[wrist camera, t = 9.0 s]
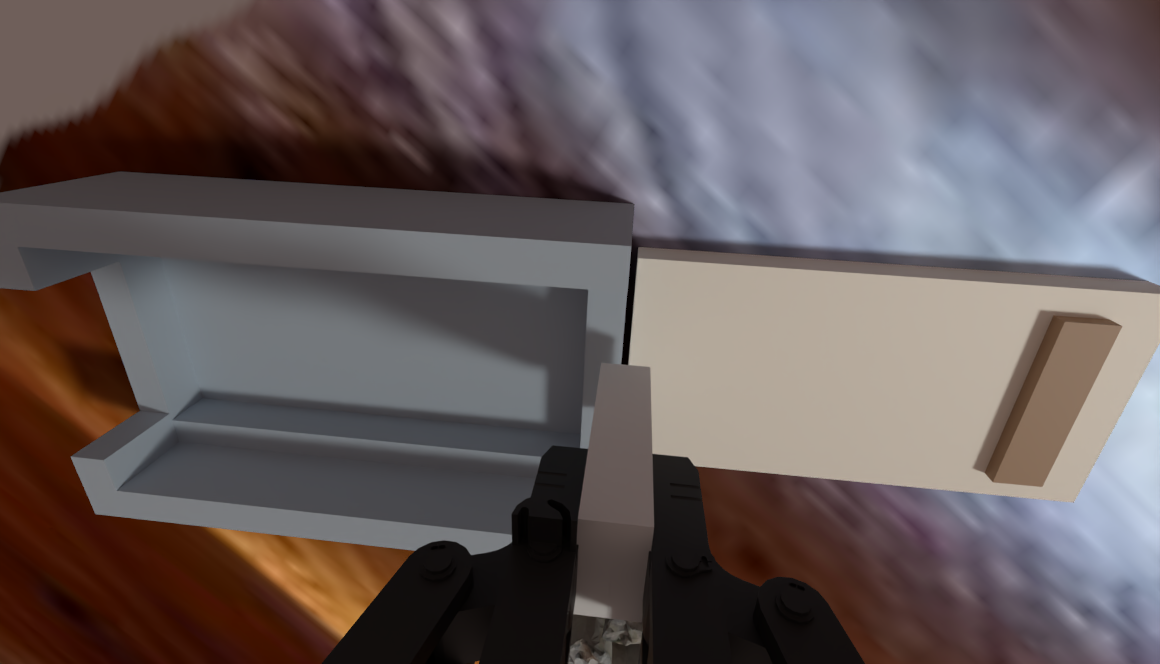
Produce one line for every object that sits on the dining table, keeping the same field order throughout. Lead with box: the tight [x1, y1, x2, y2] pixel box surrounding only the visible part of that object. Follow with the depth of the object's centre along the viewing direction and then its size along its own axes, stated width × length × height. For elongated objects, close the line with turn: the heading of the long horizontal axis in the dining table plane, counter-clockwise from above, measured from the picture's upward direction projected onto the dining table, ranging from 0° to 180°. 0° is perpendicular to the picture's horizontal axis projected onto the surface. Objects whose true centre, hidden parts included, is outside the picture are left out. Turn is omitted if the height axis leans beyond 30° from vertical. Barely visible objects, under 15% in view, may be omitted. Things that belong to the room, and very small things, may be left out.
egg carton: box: [568, 614, 643, 664], centre depth 23 cm, size 11×8×4 cm
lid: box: [628, 247, 1160, 502], centre depth 19 cm, size 16×8×2 cm, turn 88°
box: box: [0, 171, 634, 555], centre depth 19 cm, size 18×11×5 cm, turn 88°
